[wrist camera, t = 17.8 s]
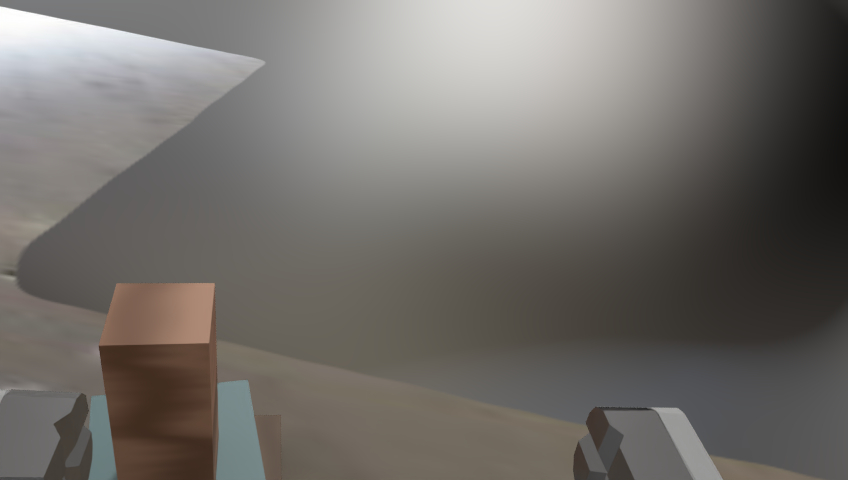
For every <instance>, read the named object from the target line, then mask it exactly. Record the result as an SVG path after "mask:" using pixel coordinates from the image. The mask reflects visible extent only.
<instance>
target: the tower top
mask: <svg viewBox="0 0 848 480" xmlns="http://www.w3.org/2000/svg"><path fill="white" fill-rule="evenodd" d="M217 388H218V426H219V440H218V455H217V470H216V480H266V479H265V473H264V468H263V462H262V457H261V451H260V446H259V440H258V435H257V429H256V423H255V418H254V412H253V407H252V401H251V396H250V390H249V385H248V380H241V381H231V382H222V383H217ZM89 430H90V431H91V433H92V441H93V454H92V463H91V469H90V474H89V479H88V480H118V479H117V472H116V465H115V458H114V451H113V443H112V436H111V429H110V422H109V415H108V408H107V401H106V395H100V396H92V397H91V411H90V425H89Z"/></svg>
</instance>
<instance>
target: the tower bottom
mask: <svg viewBox="0 0 848 480" xmlns="http://www.w3.org/2000/svg"><path fill="white" fill-rule="evenodd" d="M254 418H255V423H256V429H257V435H258V440H259V446H260V451H261V457H262V462H263V468H264V473H265V479H266V480H282V468H281V415H254Z"/></svg>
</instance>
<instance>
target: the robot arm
mask: <svg viewBox="0 0 848 480" xmlns="http://www.w3.org/2000/svg"><path fill="white" fill-rule="evenodd" d="M88 412H89V410H88V404H87V398H86V395H84V394H83V393H72V392H52V391H32V390H13V389H12V390H0V480H88V479H89V474H90V469H91V463H92V454H93V441H92V433H91V431H90V430H88V429H87V428H86V427H85V426H84V422H85V420H86V417H87V414H88ZM586 424H587V427H588V429H589V432H590V433H588V434H587V435H586V436H585V437H583V438H582V439H581V440H579V441H578V444H577V447H576V450H575V453H574V466H573V472H574V478H575V480H723V479H722V477H721V475H720V474H719V472H718V470H717V469H716V467H715V465H714V463H713V462H712V460H711V458H710V457H709V455H708V453H707V452H706V450H705V448H704V446H703V445H702V443H701V441H700V440H699V438H698V436H697V435H696V433H695V431H694V429H693V428H692V426H691V424H690V423H689V421H688V419H687V418H686V416H685V414H684V413H683V412H682V411H681V410H679V409H678V408H641V407H639V408H638V407H595V408H594V409H593V410H592V411H591V412H590V413H589V416H588V418H587V421H586Z"/></svg>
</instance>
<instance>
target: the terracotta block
mask: <svg viewBox="0 0 848 480" xmlns="http://www.w3.org/2000/svg"><path fill="white" fill-rule="evenodd" d="M99 351H100V358H101V365H102V372H103V379H104V386H105V394H106V401H107V408H108V415H109V422H110V429H111V436H112V443H113V451H114V458H115V465H116V472H117V479H118V480H216V470H217V455H218V440H219V426H218V388H217V349H216V311H215V283H129V284H128V283H126V284H125V283H121V284H120V283H117V284H116V288H115V291H114V295H113V298H112V302H111V305H110V309H109V312H108V315H107V319H106V322H105V326H104V329H103V333H102V336H101V340H100V343H99Z"/></svg>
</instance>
